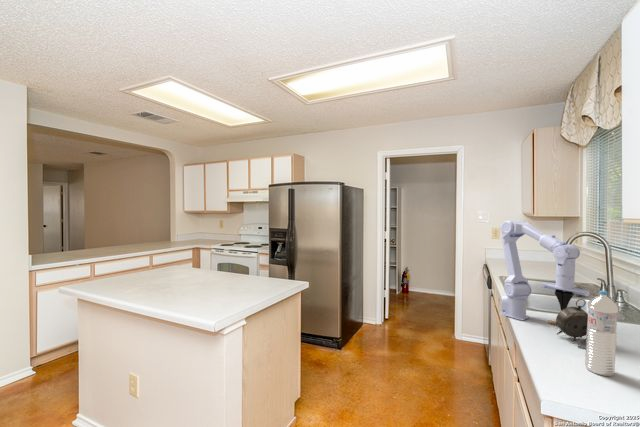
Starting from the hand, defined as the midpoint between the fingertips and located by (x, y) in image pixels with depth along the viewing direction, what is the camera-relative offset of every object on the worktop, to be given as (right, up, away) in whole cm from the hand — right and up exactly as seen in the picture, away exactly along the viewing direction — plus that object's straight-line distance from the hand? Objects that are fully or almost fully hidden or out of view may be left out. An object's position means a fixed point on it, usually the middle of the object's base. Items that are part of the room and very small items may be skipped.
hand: (563, 310), depth 120 cm
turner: (+9, -10, +8) cm, 16 cm away
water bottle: (-8, -11, -25) cm, 28 cm away
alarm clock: (+2, -10, -2) cm, 11 cm away
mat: (+6, -11, -8) cm, 15 cm away
